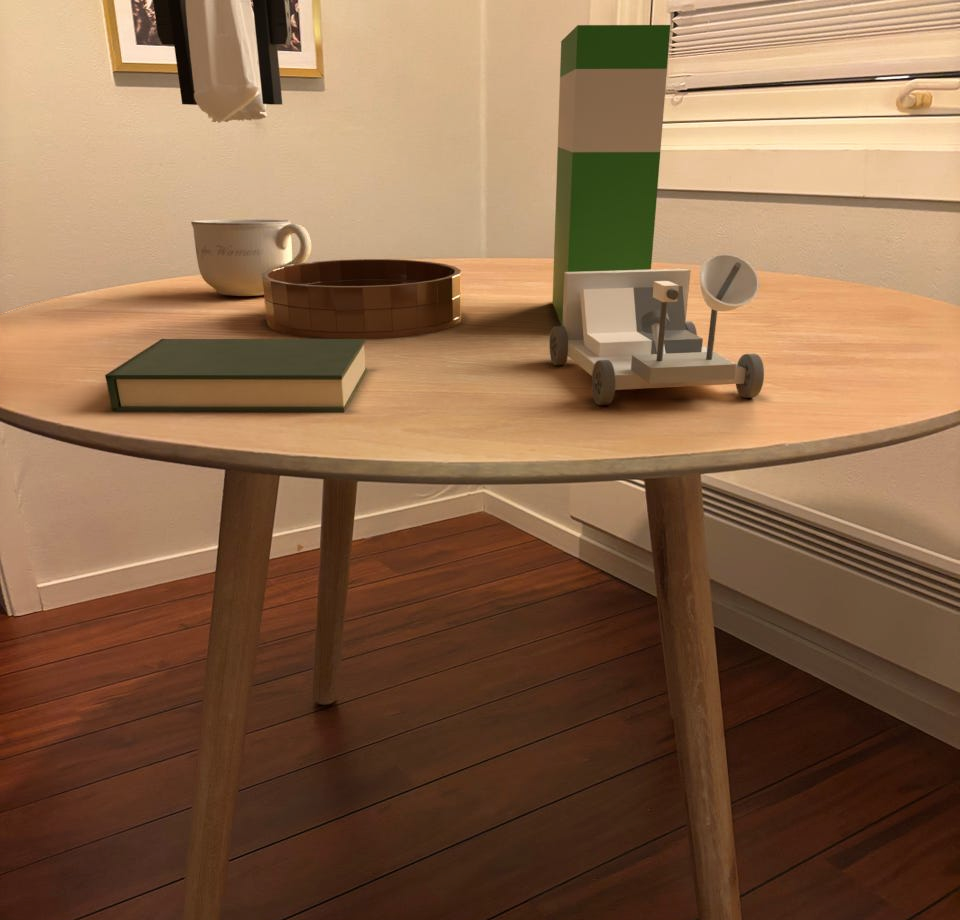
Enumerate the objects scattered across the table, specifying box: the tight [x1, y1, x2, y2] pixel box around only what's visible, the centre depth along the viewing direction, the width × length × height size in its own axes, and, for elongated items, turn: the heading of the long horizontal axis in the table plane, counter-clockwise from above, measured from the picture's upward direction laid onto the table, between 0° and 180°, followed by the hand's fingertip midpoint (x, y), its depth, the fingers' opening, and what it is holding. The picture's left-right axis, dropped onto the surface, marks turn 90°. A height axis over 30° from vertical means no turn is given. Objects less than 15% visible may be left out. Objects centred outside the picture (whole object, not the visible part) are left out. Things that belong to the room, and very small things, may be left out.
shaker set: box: [185, 0, 268, 124], centre depth 61 cm, size 12×4×11 cm, turn 9°
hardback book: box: [552, 24, 672, 326], centre depth 89 cm, size 18×7×24 cm, turn 0°
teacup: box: [190, 219, 312, 297], centre depth 106 cm, size 14×11×8 cm
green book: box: [104, 338, 368, 413], centre depth 69 cm, size 16×12×2 cm
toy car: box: [548, 252, 765, 406], centre depth 68 cm, size 18×10×12 cm
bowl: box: [262, 258, 463, 340], centre depth 93 cm, size 19×19×4 cm
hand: (233, 103), depth 63 cm, fingers closed on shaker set, 5 cm apart
